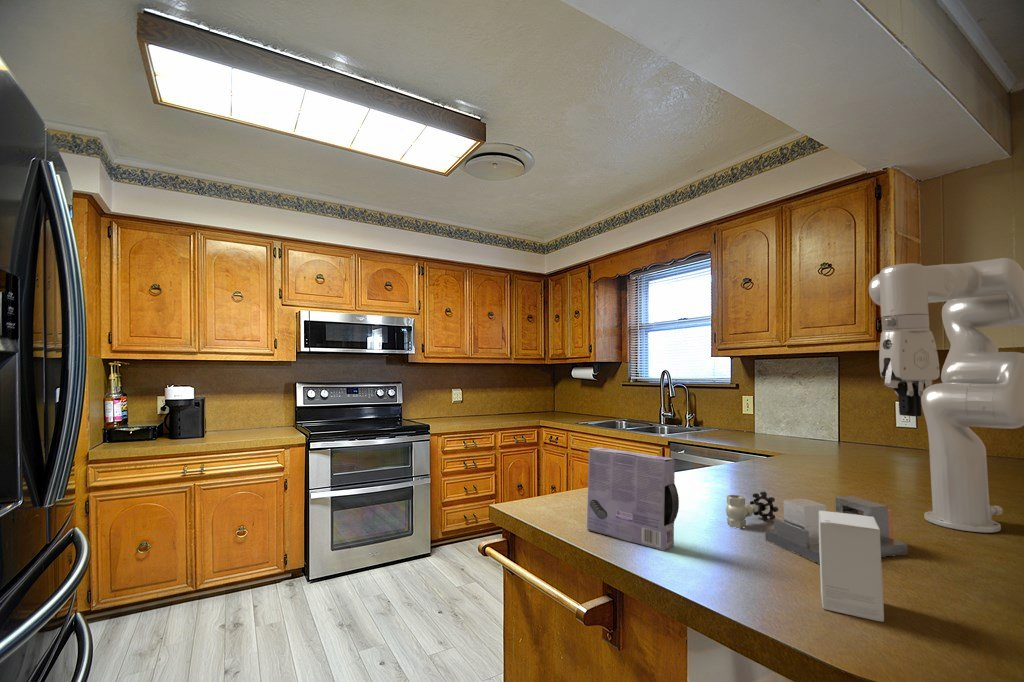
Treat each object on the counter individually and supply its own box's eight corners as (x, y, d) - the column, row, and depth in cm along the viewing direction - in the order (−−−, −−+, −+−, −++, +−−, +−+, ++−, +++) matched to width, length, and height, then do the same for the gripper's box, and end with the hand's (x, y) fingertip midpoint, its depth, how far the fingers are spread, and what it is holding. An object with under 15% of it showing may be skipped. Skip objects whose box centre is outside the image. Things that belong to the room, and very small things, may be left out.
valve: (743, 532, 104) (779, 524, 109) (742, 501, 104) (778, 494, 110) (717, 524, 110) (752, 516, 115) (717, 494, 110) (752, 488, 115)
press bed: (845, 532, 103) (843, 492, 104) (907, 554, 91) (905, 509, 91) (765, 539, 99) (764, 498, 99) (819, 564, 86) (817, 516, 87)
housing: (811, 533, 97) (809, 497, 97) (832, 542, 92) (831, 504, 92) (784, 535, 95) (783, 499, 96) (805, 544, 90) (804, 506, 91)
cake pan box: (681, 546, 95) (679, 456, 96) (669, 553, 92) (667, 459, 93) (598, 525, 108) (597, 446, 109) (585, 531, 105) (584, 448, 106)
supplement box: (885, 623, 66) (881, 529, 67) (821, 609, 70) (817, 520, 71) (879, 601, 72) (875, 515, 73) (820, 590, 76) (817, 508, 77)
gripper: (893, 323, 93) (899, 418, 92) (953, 323, 97) (959, 416, 96) (858, 326, 101) (863, 415, 100) (915, 326, 104) (920, 412, 103)
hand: (910, 415), depth 98 cm, fingers closed
